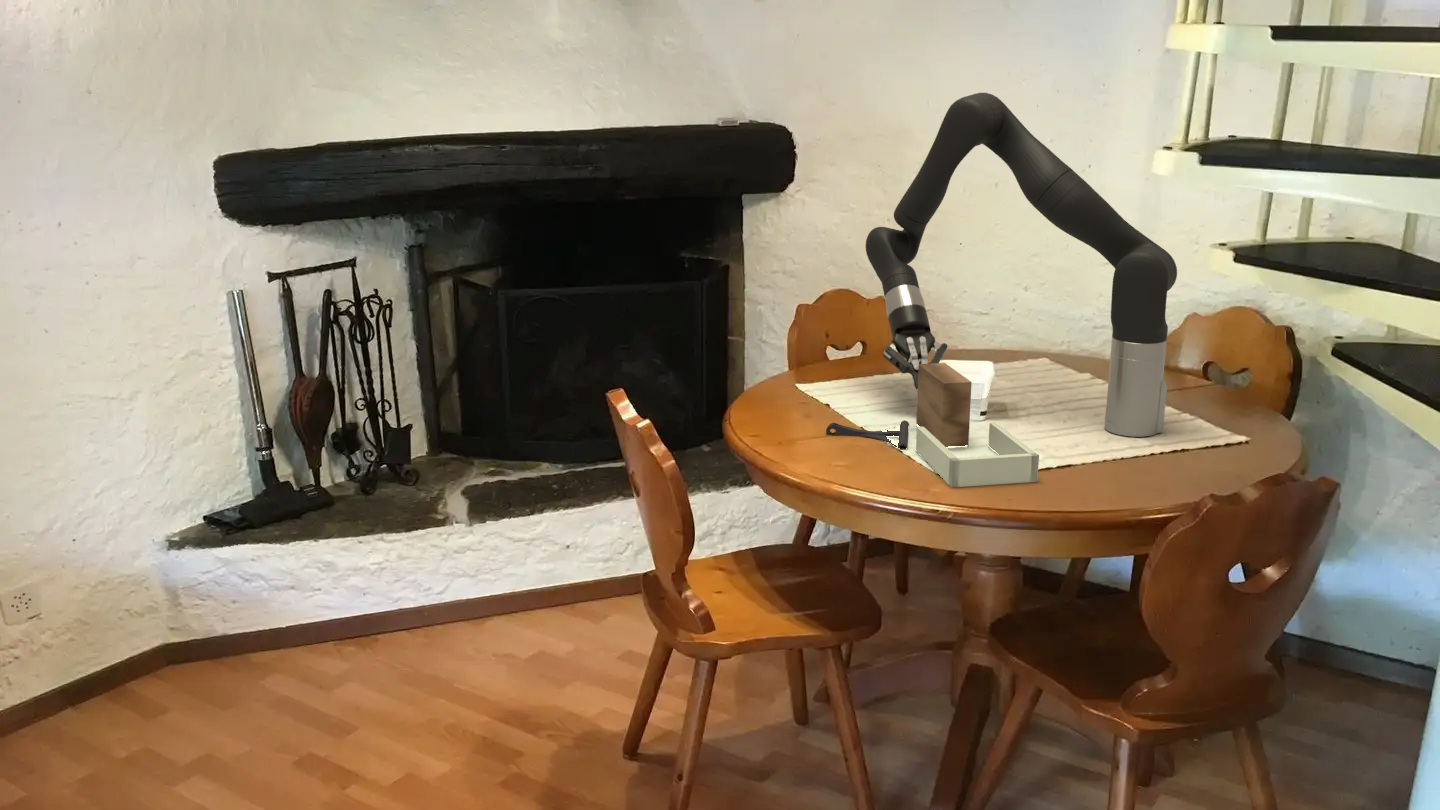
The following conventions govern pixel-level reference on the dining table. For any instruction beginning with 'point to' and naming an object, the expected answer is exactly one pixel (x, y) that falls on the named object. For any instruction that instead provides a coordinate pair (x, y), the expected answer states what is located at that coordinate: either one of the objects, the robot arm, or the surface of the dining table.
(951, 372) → the walnut board
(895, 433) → the dark grey t-shaped piece
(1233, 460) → the dining table surface
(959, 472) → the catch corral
